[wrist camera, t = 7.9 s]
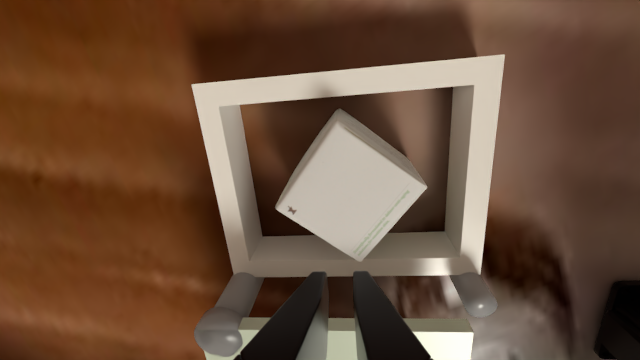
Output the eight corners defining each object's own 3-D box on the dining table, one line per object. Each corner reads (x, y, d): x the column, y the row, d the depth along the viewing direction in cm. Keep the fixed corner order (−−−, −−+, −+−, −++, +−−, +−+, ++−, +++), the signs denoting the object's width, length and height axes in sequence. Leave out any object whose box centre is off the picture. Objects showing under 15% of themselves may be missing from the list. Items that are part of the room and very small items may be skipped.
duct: (481, 57, 16) (552, 48, 10) (463, 266, 20) (506, 339, 15) (210, 83, 18) (146, 87, 12) (247, 269, 22) (213, 335, 17)
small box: (357, 223, 20) (360, 267, 16) (288, 177, 20) (269, 208, 15) (412, 158, 18) (433, 186, 14) (337, 104, 18) (333, 115, 13)
